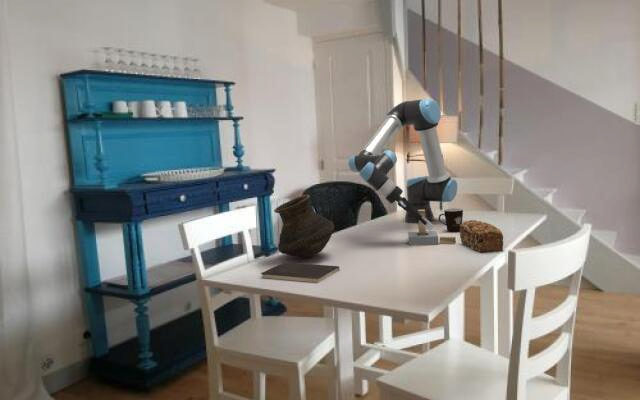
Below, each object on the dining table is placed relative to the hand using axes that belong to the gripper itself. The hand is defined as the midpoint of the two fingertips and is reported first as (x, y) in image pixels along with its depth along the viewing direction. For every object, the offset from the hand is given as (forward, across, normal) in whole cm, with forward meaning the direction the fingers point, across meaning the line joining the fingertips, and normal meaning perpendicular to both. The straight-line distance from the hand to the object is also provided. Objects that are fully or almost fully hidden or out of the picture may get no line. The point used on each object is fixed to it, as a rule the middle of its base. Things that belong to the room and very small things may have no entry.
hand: (431, 228), depth 222 cm
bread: (+17, +13, +8) cm, 23 cm away
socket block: (+2, 0, -7) cm, 7 cm away
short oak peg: (+9, +4, 0) cm, 10 cm away
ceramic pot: (-31, +21, -40) cm, 55 cm away
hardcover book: (-30, +46, -40) cm, 68 cm away
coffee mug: (+12, -22, +3) cm, 25 cm away
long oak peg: (0, 0, -5) cm, 5 cm away
